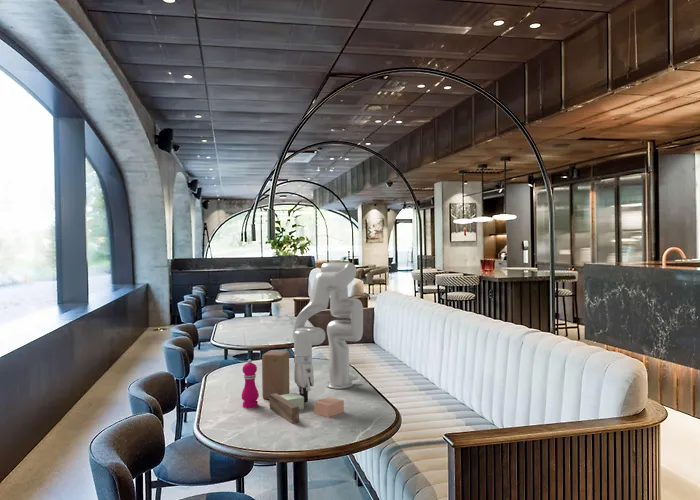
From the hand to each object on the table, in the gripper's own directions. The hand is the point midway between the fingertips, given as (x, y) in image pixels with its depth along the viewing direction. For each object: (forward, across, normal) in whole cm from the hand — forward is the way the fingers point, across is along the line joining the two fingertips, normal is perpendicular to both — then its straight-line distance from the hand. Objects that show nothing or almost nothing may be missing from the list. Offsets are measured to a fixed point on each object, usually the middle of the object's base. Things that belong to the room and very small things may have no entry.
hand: (303, 402), depth 232 cm
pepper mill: (+2, +12, +19) cm, 23 cm away
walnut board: (+2, -7, +12) cm, 14 cm away
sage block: (+2, +1, +6) cm, 6 cm away
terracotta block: (+2, -14, -5) cm, 15 cm away
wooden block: (+2, +19, +4) cm, 20 cm away
